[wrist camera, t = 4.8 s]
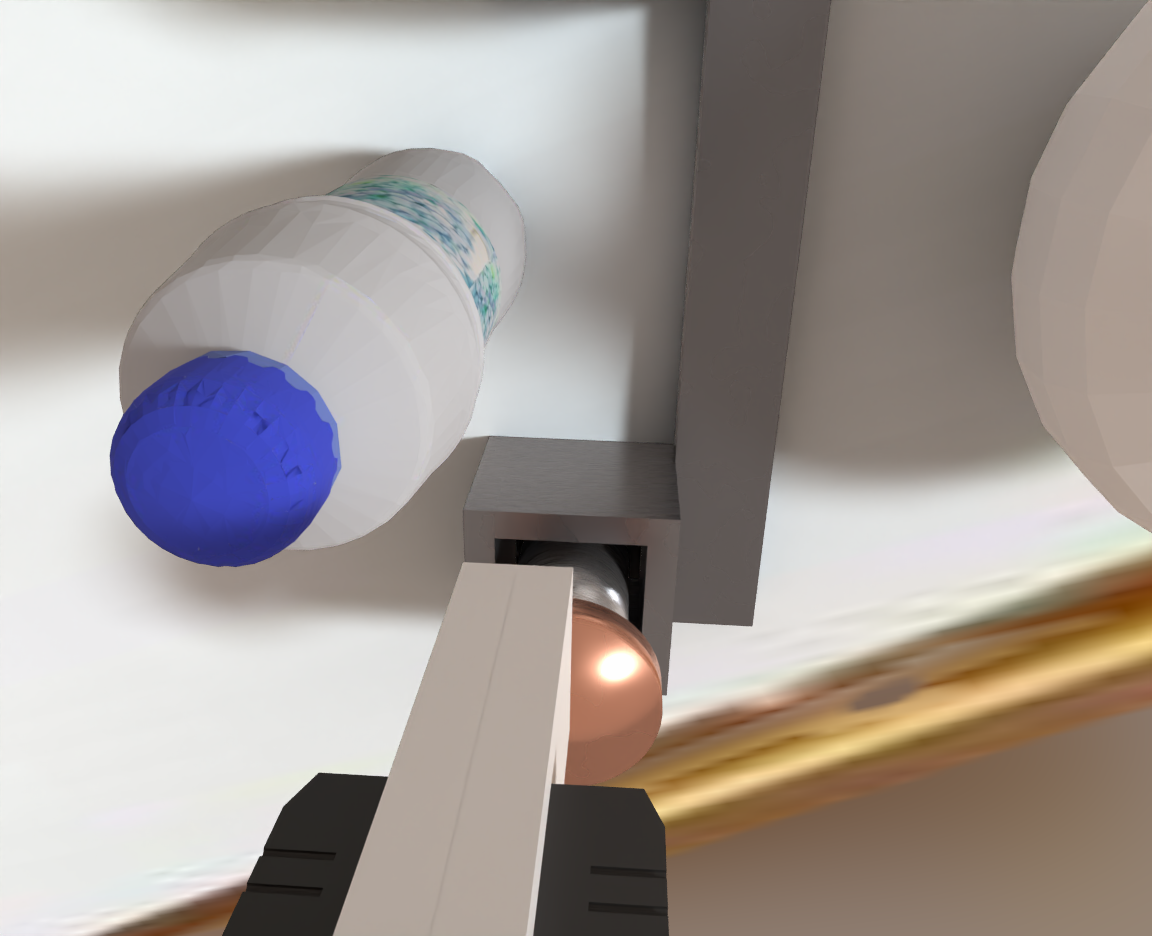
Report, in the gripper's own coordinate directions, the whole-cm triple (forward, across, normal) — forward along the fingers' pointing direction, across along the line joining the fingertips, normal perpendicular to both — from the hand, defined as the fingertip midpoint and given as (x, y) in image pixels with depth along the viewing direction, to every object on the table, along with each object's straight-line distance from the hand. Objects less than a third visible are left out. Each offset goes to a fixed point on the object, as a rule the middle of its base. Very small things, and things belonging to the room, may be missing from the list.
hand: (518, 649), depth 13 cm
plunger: (+19, 0, -9) cm, 21 cm away
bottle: (+22, -5, +2) cm, 22 cm away
